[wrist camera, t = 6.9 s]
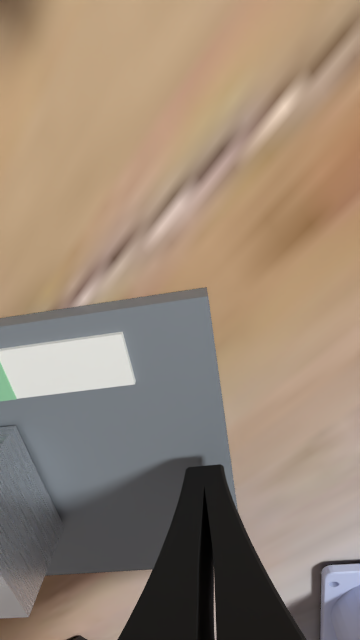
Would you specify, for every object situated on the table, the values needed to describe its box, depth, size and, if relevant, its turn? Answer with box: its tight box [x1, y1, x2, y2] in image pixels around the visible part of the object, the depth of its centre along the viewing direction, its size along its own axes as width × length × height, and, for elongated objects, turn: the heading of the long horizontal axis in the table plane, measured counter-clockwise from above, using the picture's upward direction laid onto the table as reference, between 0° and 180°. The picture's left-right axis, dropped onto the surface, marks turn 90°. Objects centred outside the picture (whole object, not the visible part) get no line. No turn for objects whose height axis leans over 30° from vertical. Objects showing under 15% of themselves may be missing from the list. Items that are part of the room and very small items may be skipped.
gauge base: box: [0, 287, 238, 576], centre depth 12 cm, size 14×18×4 cm
